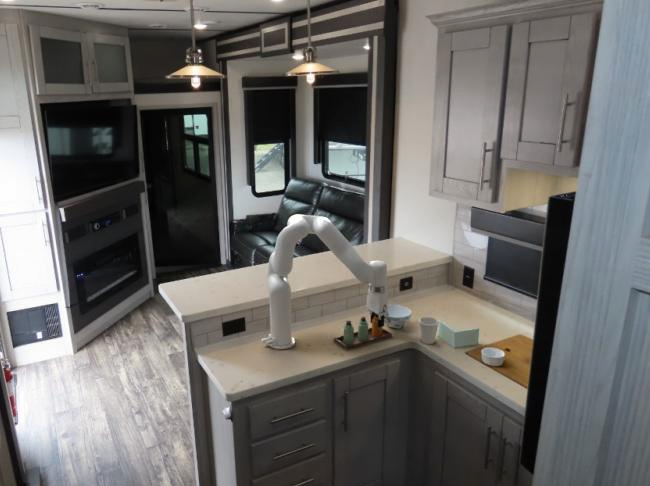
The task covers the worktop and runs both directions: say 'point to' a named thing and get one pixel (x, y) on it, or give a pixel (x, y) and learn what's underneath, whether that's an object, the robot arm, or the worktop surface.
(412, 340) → the worktop surface
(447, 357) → the worktop surface
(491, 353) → the ramekin
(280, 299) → the robot arm
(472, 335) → the l-shaped corner panel
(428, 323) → the dixie cup
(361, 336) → the green bottle
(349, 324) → the green bottle
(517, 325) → the worktop surface
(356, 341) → the tray
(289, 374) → the worktop surface
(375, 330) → the amber bottle
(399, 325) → the chinaware
